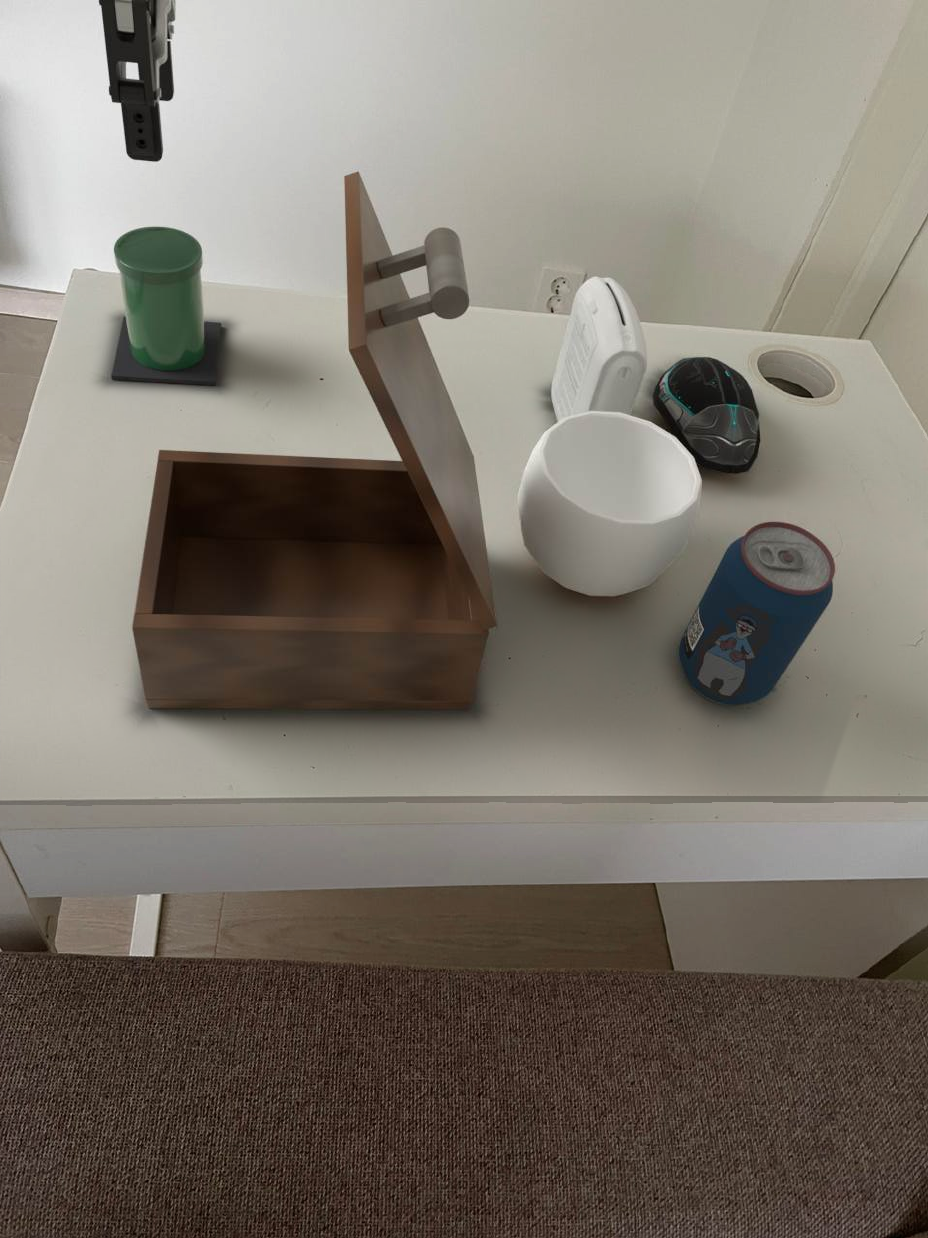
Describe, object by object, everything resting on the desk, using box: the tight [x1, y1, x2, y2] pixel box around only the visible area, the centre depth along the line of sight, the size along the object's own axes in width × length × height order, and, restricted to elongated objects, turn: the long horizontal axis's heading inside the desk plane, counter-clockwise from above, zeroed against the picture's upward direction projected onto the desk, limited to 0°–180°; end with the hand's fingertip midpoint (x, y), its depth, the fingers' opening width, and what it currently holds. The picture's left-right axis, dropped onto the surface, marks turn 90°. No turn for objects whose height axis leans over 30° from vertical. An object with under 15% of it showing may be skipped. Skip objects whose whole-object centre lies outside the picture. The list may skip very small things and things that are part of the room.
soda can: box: [678, 521, 836, 706], centre depth 65 cm, size 7×7×12 cm
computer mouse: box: [652, 356, 762, 475], centre depth 84 cm, size 9×17×6 cm, turn 1°
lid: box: [343, 171, 498, 630], centre depth 54 cm, size 21×14×5 cm
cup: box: [516, 411, 703, 597], centre depth 70 cm, size 12×12×10 cm
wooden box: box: [131, 449, 490, 711], centre depth 64 cm, size 20×14×8 cm
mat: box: [111, 315, 222, 386], centre depth 82 cm, size 8×8×1 cm
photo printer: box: [550, 275, 648, 423], centre depth 79 cm, size 10×4×12 cm, turn 8°
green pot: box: [113, 225, 206, 371], centre depth 79 cm, size 6×6×9 cm
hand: (151, 126), depth 67 cm, fingers open, 8 cm apart
